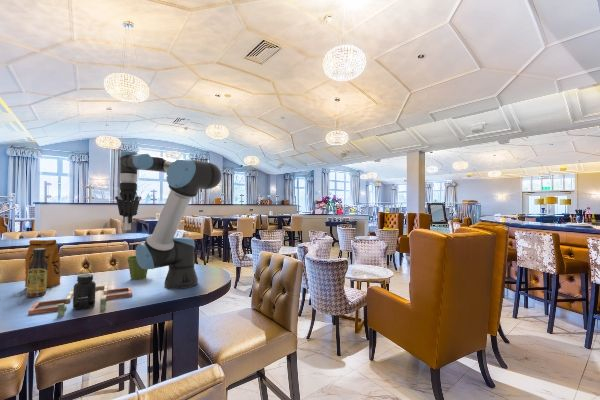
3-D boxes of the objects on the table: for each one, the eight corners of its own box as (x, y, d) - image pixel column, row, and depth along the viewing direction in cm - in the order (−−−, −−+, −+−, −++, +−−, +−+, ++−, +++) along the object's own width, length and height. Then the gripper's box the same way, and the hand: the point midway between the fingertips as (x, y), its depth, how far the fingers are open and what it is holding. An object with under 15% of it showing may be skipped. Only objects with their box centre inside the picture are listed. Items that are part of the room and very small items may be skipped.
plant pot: (138, 281, 148) (139, 259, 148) (120, 280, 151) (120, 258, 151) (156, 276, 159) (156, 255, 160) (138, 274, 163) (139, 254, 163)
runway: (44, 295, 125) (44, 286, 125) (130, 285, 141) (130, 277, 141) (22, 322, 97) (23, 309, 97) (133, 305, 114) (133, 294, 114)
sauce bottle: (24, 298, 121) (25, 250, 121) (29, 294, 126) (30, 248, 127) (44, 296, 124) (45, 249, 124) (49, 292, 129) (49, 247, 130)
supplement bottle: (79, 311, 107) (80, 278, 107) (68, 308, 110) (69, 276, 110) (99, 305, 113) (99, 274, 113) (88, 303, 116) (89, 272, 116)
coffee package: (50, 288, 135) (51, 240, 136) (20, 289, 134) (21, 241, 134) (64, 282, 145) (65, 238, 146) (36, 283, 144) (37, 238, 144)
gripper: (145, 183, 149) (144, 229, 149) (122, 183, 151) (121, 229, 150) (135, 181, 142) (134, 230, 141) (110, 182, 143) (110, 230, 143)
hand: (127, 229), depth 146 cm, fingers closed
